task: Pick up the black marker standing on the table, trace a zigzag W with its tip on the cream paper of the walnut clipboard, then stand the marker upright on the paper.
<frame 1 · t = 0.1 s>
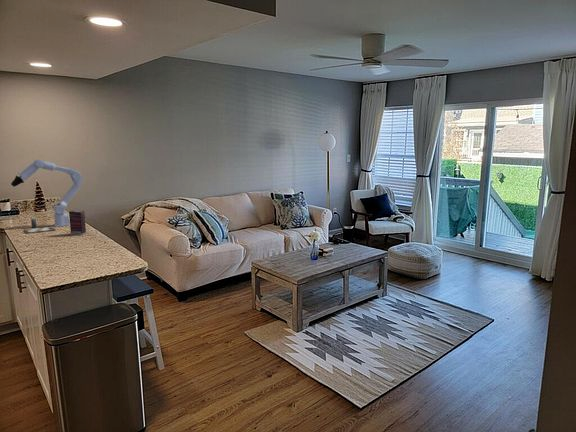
hand: (12, 185, 281), 32 cm above the worktop, tool tilted 50°, fingers open, 7 cm apart
marker: (34, 227, 293), on the worktop
clipboard: (39, 230, 284), on the worktop
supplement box: (78, 234, 275), on the worktop
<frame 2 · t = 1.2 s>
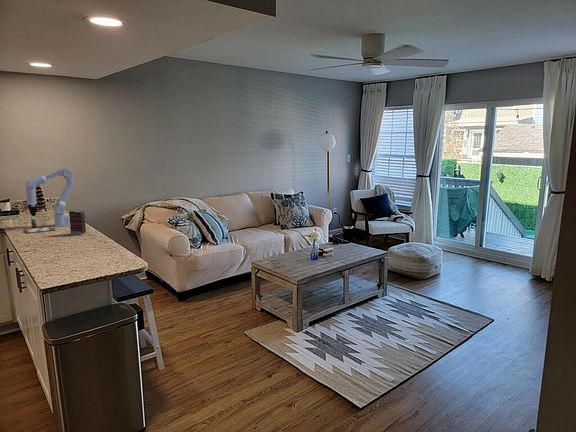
hand: (33, 215, 291), 9 cm above the worktop, tool pointing down, fingers open, 7 cm apart
nothing on the worktop moved.
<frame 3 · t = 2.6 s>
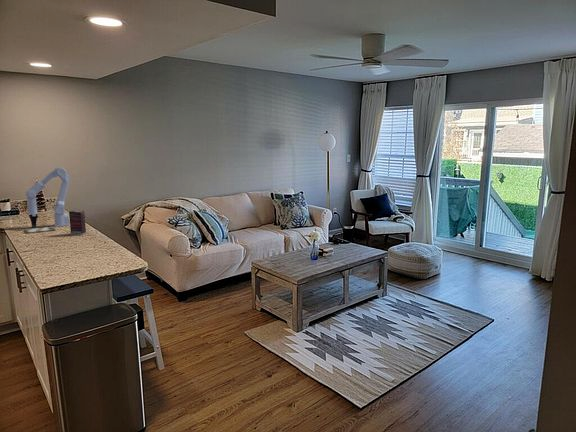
hand: (34, 224, 292), 2 cm above the worktop, tool pointing down, fingers closed on marker, 3 cm apart
marker: (34, 227, 293), on the worktop, touching gripper
everything else where it was.
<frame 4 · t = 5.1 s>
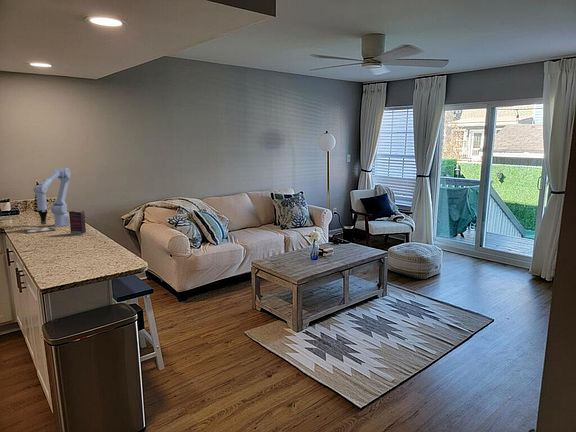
hand: (43, 220, 286), 7 cm above the worktop, tool pointing down, fingers closed on marker, 3 cm apart
marker: (43, 223, 286), point 4 cm above the worktop, touching gripper
everything else where it was.
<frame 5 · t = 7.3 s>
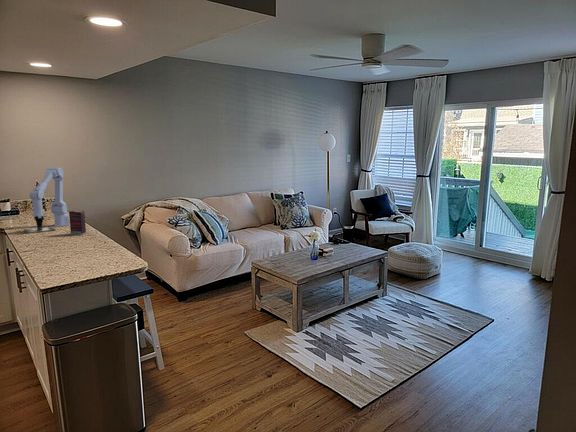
hand: (39, 226, 281), 3 cm above the worktop, tool pointing down, fingers closed on marker, 3 cm apart
marker: (39, 230, 281), point 1 cm above the worktop, touching gripper
everything else where it was.
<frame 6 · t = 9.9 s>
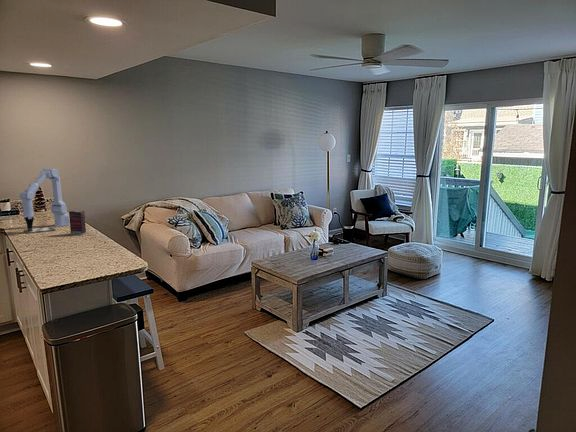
hand: (29, 227, 277), 3 cm above the worktop, tool pointing down, fingers closed on marker, 3 cm apart
marker: (30, 231, 278), point 1 cm above the worktop, touching gripper
everything else where it was.
when the fingers open (4 cm above the worktop, at t = 12.0 s): marker stays where it is, resting on clipboard.
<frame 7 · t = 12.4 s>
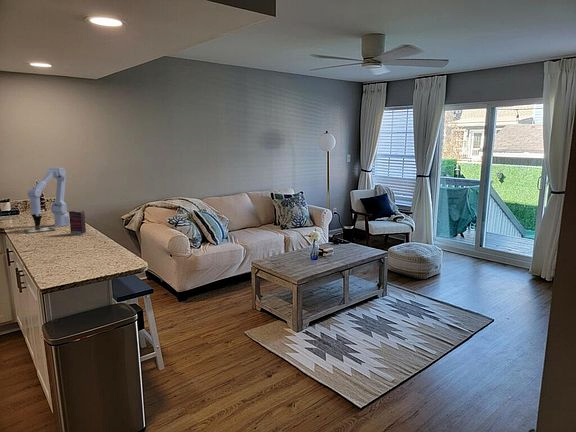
hand: (37, 224, 283), 4 cm above the worktop, tool pointing down, fingers open, 6 cm apart
marker: (37, 229, 284), point 1 cm above the worktop, touching clipboard
everything else where it was.
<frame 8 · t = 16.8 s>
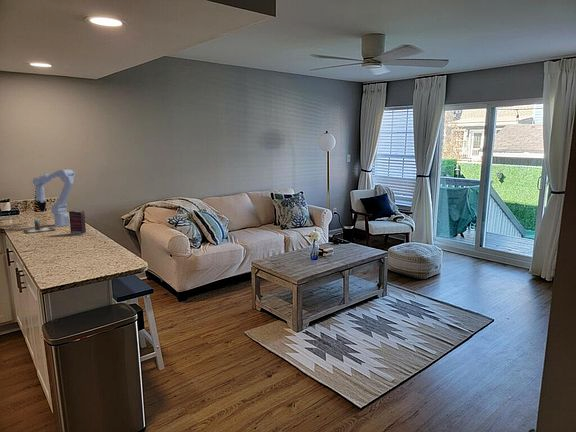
hand: (41, 210, 304), 10 cm above the worktop, tool pointing down, fingers open, 7 cm apart
nothing on the worktop moved.
at the end: marker inside the target area on the clipboard (0.8 cm from its centre), point 0.7 cm above the clipboard's base; marker tilted 0°; the gripper is holding nothing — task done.
